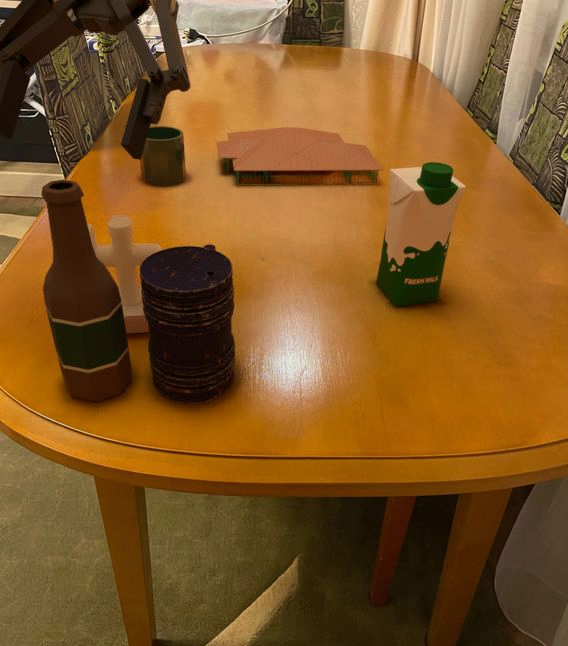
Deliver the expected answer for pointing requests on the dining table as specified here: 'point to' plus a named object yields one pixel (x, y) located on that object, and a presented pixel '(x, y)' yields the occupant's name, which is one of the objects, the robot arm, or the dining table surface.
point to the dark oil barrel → (189, 322)
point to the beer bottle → (83, 302)
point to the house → (295, 153)
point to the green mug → (163, 157)
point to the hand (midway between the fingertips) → (63, 142)
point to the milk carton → (418, 232)
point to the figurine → (125, 268)
